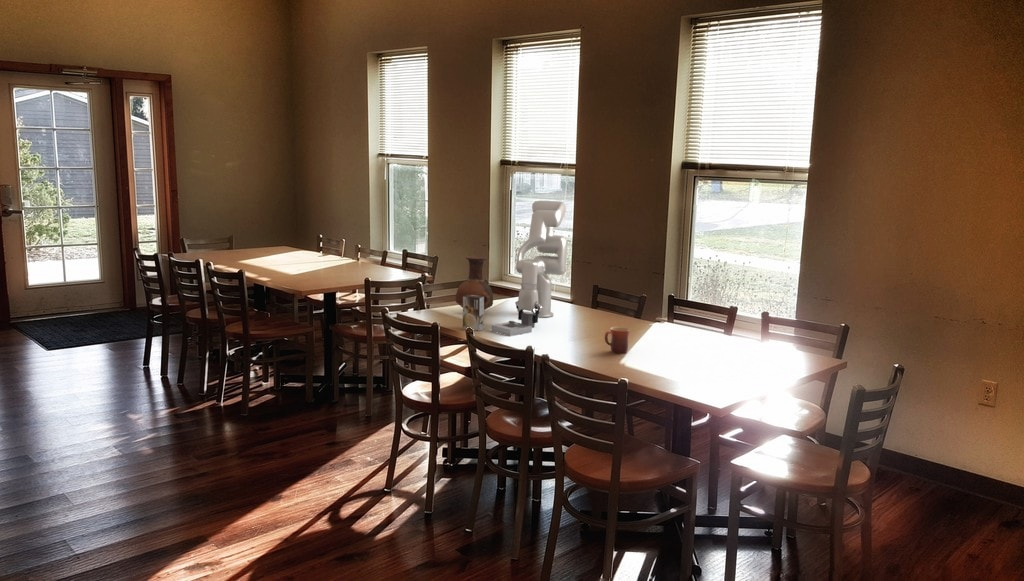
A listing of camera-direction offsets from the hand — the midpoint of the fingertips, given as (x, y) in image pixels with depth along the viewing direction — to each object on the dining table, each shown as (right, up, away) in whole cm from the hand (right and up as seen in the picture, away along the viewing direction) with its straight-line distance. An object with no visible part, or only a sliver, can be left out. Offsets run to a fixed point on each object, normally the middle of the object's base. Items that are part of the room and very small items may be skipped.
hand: (527, 321), depth 387 cm
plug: (0, -3, +1) cm, 3 cm away
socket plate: (-8, -5, -10) cm, 14 cm away
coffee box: (-26, -4, -6) cm, 27 cm away
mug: (+37, -12, -44) cm, 59 cm away
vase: (-28, +3, +29) cm, 40 cm away
